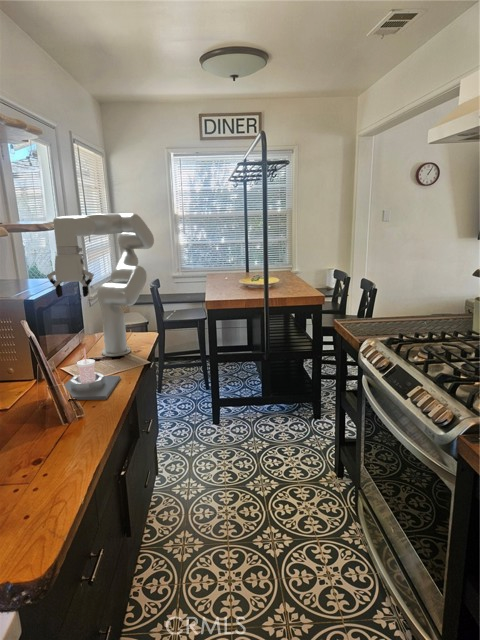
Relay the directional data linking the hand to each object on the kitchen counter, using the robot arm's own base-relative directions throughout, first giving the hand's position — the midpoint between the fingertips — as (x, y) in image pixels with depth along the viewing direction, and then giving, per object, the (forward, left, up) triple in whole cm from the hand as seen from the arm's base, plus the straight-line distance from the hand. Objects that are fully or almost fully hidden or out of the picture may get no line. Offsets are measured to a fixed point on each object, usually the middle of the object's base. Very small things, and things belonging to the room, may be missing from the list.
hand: (72, 296), depth 156 cm
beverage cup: (+18, +9, -29) cm, 35 cm away
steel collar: (+18, +9, -29) cm, 35 cm away
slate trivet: (+18, +9, -30) cm, 36 cm away
